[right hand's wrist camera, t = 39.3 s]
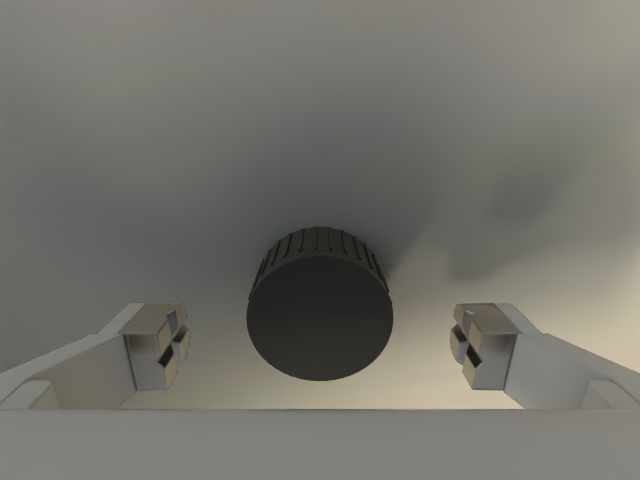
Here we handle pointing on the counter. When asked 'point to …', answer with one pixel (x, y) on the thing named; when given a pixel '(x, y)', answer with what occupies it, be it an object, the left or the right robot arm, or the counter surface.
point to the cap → (319, 306)
